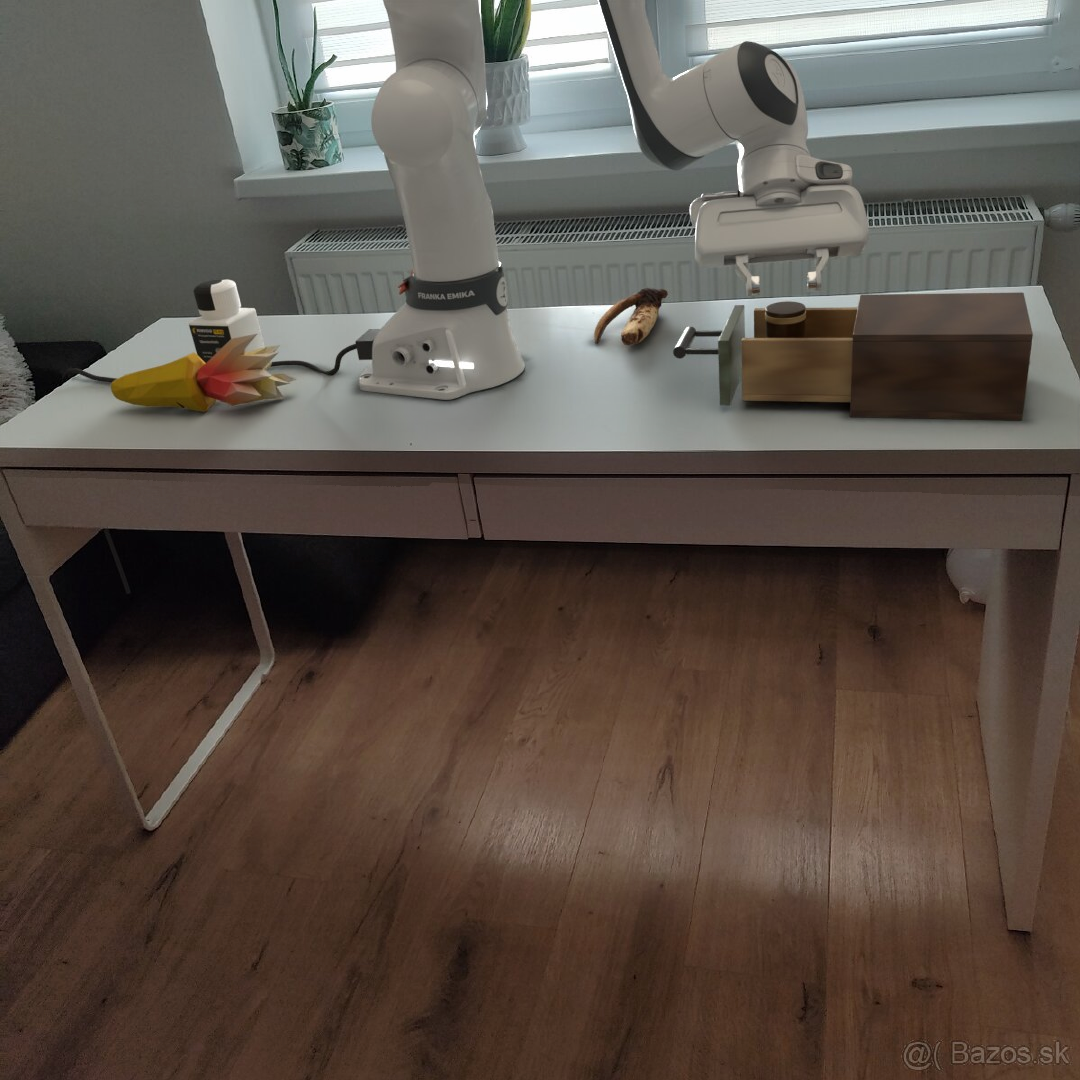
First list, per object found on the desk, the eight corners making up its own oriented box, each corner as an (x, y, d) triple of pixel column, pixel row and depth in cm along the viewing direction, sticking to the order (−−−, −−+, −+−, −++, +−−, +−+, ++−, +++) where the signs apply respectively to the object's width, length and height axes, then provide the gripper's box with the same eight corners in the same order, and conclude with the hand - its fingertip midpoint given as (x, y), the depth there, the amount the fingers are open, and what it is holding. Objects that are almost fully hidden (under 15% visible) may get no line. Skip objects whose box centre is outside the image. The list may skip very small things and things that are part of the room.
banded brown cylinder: (763, 378, 126) (762, 314, 122) (767, 363, 129) (767, 301, 125) (803, 378, 124) (804, 313, 120) (807, 363, 128) (807, 300, 124)
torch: (136, 432, 148) (301, 399, 143) (102, 428, 141) (275, 393, 135) (127, 373, 148) (291, 338, 143) (92, 366, 140) (265, 329, 135)
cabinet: (849, 417, 118) (852, 334, 113) (856, 371, 129) (859, 294, 125) (1022, 420, 113) (1033, 334, 108) (1014, 372, 124) (1023, 292, 119)
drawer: (670, 404, 125) (667, 340, 121) (690, 365, 135) (687, 305, 131) (868, 407, 118) (872, 340, 114) (873, 366, 128) (876, 303, 124)
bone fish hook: (611, 315, 160) (584, 355, 145) (608, 284, 157) (580, 322, 142) (673, 311, 157) (652, 352, 142) (670, 280, 155) (648, 318, 140)
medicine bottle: (200, 368, 158) (177, 289, 152) (229, 351, 163) (208, 274, 157) (239, 370, 155) (217, 290, 149) (267, 353, 161) (247, 275, 155)
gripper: (688, 180, 127) (694, 285, 123) (865, 164, 124) (876, 271, 121) (688, 209, 133) (694, 310, 129) (857, 195, 130) (867, 297, 127)
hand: (783, 291), depth 125 cm, fingers open, 6 cm apart
